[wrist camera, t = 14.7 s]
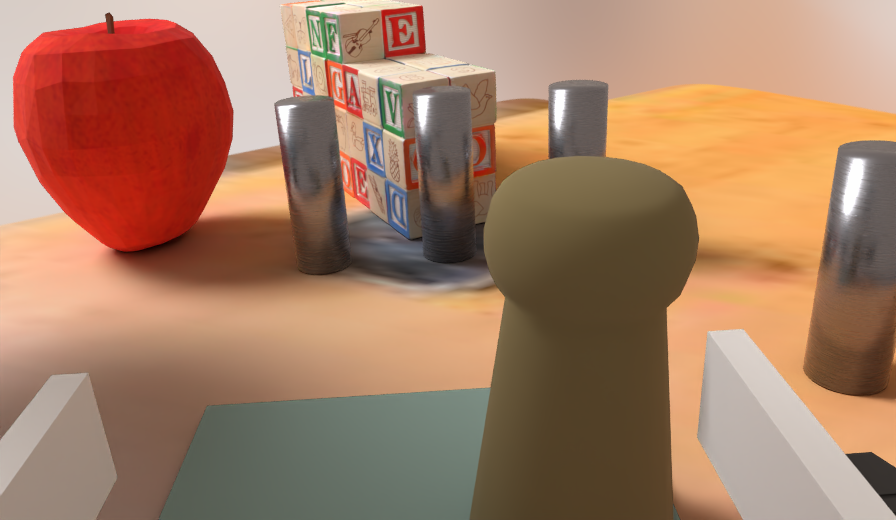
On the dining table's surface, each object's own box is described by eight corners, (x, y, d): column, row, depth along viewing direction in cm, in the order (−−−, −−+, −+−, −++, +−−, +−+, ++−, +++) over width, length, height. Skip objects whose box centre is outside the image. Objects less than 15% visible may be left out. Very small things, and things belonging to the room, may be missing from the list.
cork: (717, 568, 21) (784, 194, 17) (517, 630, 20) (528, 235, 15) (609, 437, 27) (636, 124, 22) (442, 478, 25) (433, 149, 20)
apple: (224, 277, 42) (177, 21, 36) (9, 287, 42) (-70, 33, 36) (268, 203, 53) (237, -3, 47) (98, 212, 53) (47, 7, 47)
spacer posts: (239, 435, 29) (195, 207, 25) (302, 250, 45) (281, 95, 41) (904, 392, 29) (957, 161, 25) (730, 224, 45) (746, 68, 41)
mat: (89, 700, 19) (86, 689, 19) (208, 414, 30) (206, 405, 30) (733, 655, 19) (735, 643, 19) (617, 388, 30) (618, 379, 30)
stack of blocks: (500, 222, 48) (496, 14, 43) (409, 244, 45) (392, 26, 40) (370, 146, 65) (356, -7, 60) (299, 159, 63) (278, 0, 58)
